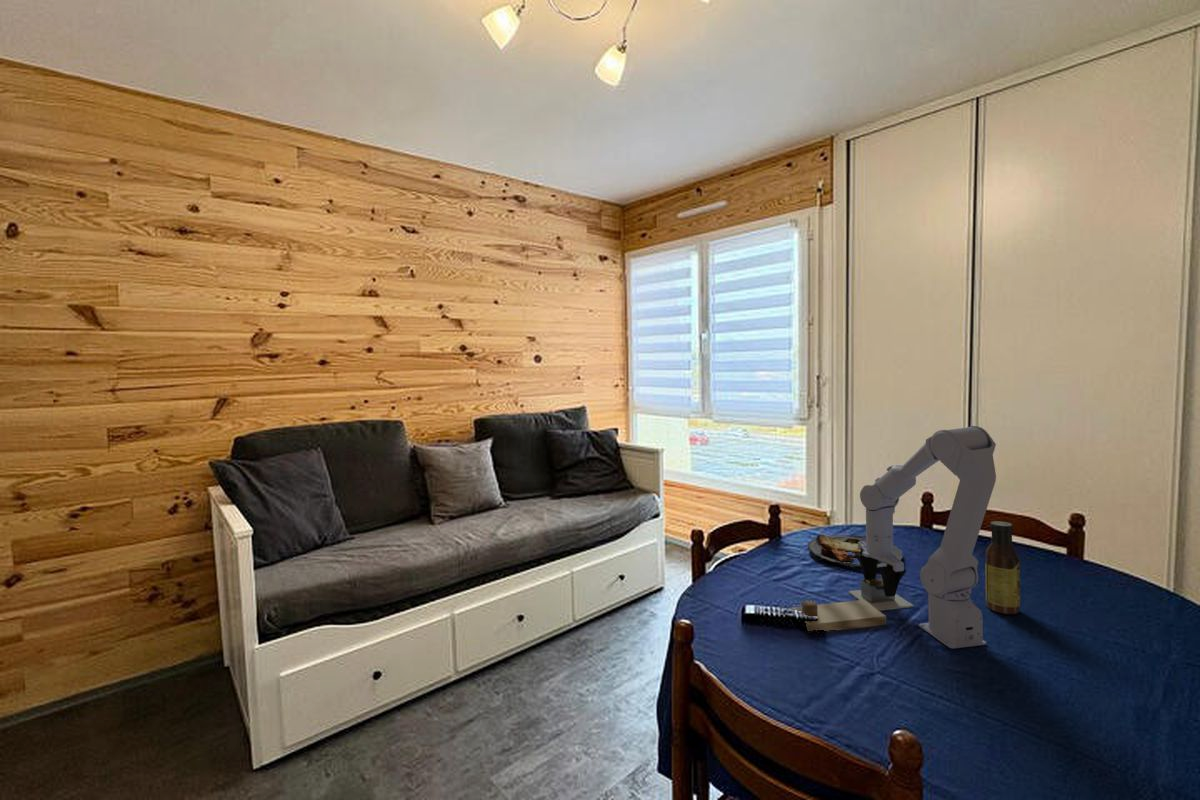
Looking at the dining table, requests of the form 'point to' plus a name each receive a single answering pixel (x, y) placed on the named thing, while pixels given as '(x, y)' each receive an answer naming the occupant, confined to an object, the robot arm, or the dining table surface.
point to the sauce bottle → (1002, 570)
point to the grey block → (874, 591)
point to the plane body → (841, 615)
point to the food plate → (841, 549)
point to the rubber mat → (887, 605)
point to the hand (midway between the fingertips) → (879, 588)
